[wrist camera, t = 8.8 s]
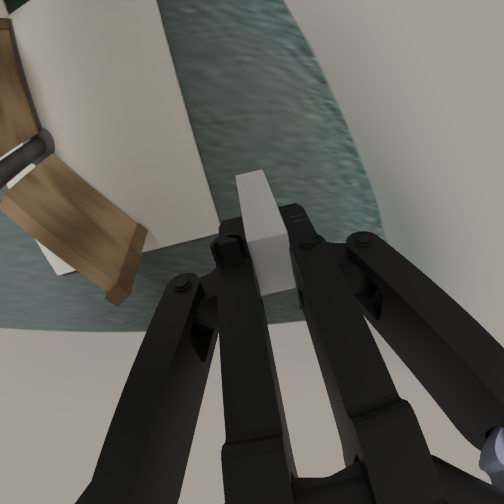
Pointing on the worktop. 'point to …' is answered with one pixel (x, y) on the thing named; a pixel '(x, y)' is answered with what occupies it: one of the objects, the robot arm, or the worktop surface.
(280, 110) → the worktop surface
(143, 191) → the card
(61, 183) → the hinged panel
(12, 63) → the fixed rail
